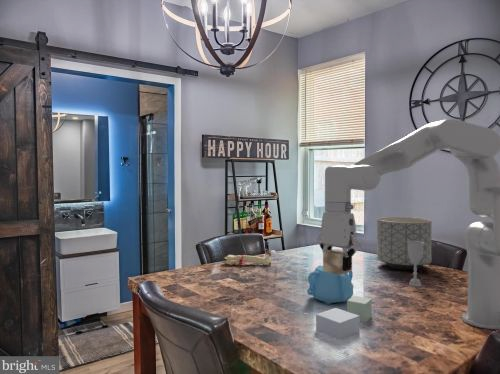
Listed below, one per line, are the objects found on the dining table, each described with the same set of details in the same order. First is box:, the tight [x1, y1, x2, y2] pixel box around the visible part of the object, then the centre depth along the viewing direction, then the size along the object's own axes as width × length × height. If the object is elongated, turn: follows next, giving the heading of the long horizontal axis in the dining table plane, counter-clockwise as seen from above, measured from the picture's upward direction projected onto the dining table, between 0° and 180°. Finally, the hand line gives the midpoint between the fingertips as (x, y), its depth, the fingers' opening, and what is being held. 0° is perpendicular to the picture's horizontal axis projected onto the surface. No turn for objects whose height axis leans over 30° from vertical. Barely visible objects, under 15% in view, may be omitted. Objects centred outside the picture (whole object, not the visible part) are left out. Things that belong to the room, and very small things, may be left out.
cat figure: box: [222, 250, 272, 267], centre depth 205 cm, size 10×9×25 cm
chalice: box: [407, 241, 424, 287], centre depth 166 cm, size 7×7×18 cm
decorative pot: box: [306, 265, 354, 305], centre depth 148 cm, size 16×16×14 cm
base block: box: [315, 307, 361, 340], centre depth 119 cm, size 9×9×5 cm
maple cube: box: [322, 248, 353, 275], centre depth 118 cm, size 6×6×6 cm
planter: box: [376, 216, 432, 271], centre depth 197 cm, size 25×25×24 cm
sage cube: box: [346, 295, 373, 323], centre depth 129 cm, size 6×6×6 cm
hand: (337, 267), depth 118 cm, fingers closed on maple cube, 6 cm apart
